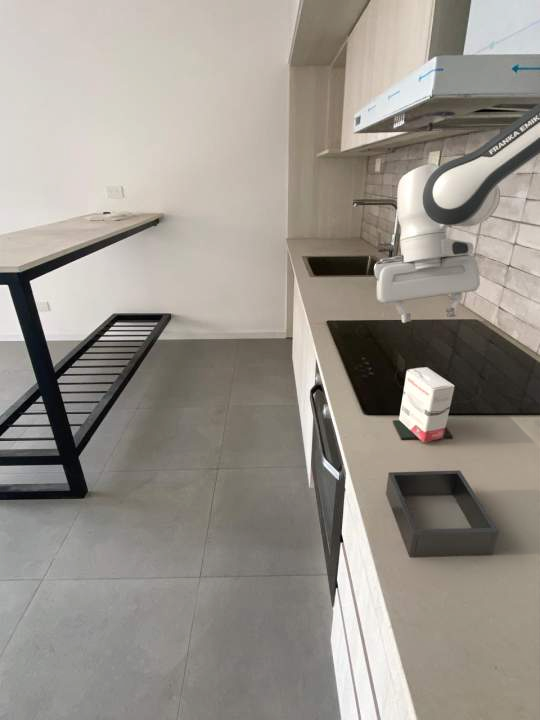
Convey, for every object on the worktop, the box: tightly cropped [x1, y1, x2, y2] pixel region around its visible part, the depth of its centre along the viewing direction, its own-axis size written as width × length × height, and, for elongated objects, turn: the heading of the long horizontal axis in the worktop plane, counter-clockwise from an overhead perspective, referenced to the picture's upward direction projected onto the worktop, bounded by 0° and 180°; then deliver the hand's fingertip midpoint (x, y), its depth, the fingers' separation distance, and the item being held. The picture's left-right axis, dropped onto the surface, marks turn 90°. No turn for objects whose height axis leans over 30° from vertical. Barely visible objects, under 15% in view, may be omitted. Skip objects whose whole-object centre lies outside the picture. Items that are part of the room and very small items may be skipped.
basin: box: [385, 469, 500, 558], centre depth 58 cm, size 11×12×4 cm
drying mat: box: [392, 419, 454, 441], centre depth 80 cm, size 10×6×1 cm, turn 90°
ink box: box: [398, 366, 456, 443], centre depth 77 cm, size 9×5×12 cm, turn 17°
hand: (429, 319), depth 83 cm, fingers open, 8 cm apart
